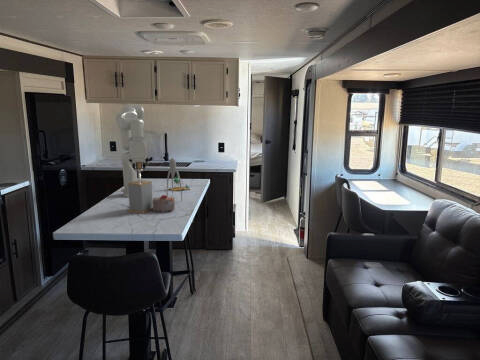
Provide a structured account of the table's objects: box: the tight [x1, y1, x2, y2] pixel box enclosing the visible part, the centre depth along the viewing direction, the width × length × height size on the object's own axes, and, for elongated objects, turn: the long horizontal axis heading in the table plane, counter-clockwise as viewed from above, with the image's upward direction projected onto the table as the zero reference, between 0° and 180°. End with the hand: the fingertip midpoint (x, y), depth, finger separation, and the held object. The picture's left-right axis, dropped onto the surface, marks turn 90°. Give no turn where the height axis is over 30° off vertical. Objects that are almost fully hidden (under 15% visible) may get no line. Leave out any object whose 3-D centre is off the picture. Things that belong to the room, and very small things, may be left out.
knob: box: [135, 161, 144, 183], centre depth 222 cm, size 8×8×25 cm
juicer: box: [166, 157, 183, 201], centre depth 245 cm, size 10×9×30 cm
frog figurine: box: [168, 174, 191, 191], centre depth 280 cm, size 10×18×15 cm, turn 80°
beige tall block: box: [126, 179, 153, 215], centre depth 224 cm, size 12×12×18 cm
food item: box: [152, 194, 176, 213], centre depth 224 cm, size 14×8×10 cm, turn 98°
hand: (139, 168), depth 221 cm, fingers closed on knob, 5 cm apart
